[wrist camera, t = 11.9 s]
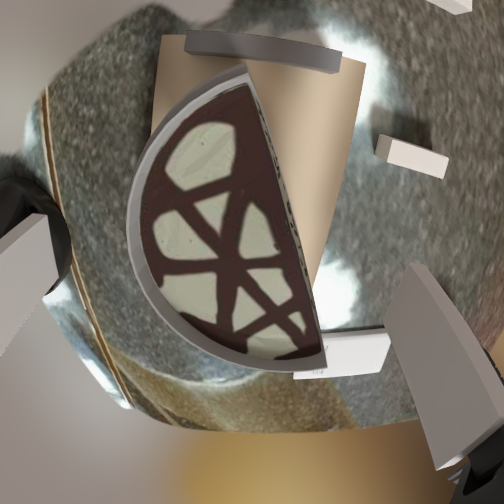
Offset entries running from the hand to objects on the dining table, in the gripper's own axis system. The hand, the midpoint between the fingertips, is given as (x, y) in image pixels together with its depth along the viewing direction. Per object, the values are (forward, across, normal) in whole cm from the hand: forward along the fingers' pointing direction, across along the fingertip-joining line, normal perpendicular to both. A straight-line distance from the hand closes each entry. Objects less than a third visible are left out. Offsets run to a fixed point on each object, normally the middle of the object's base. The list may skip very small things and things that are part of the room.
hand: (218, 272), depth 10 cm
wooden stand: (+18, 0, 0) cm, 18 cm away
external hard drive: (+18, -16, +22) cm, 33 cm away
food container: (+10, 0, 0) cm, 10 cm away
